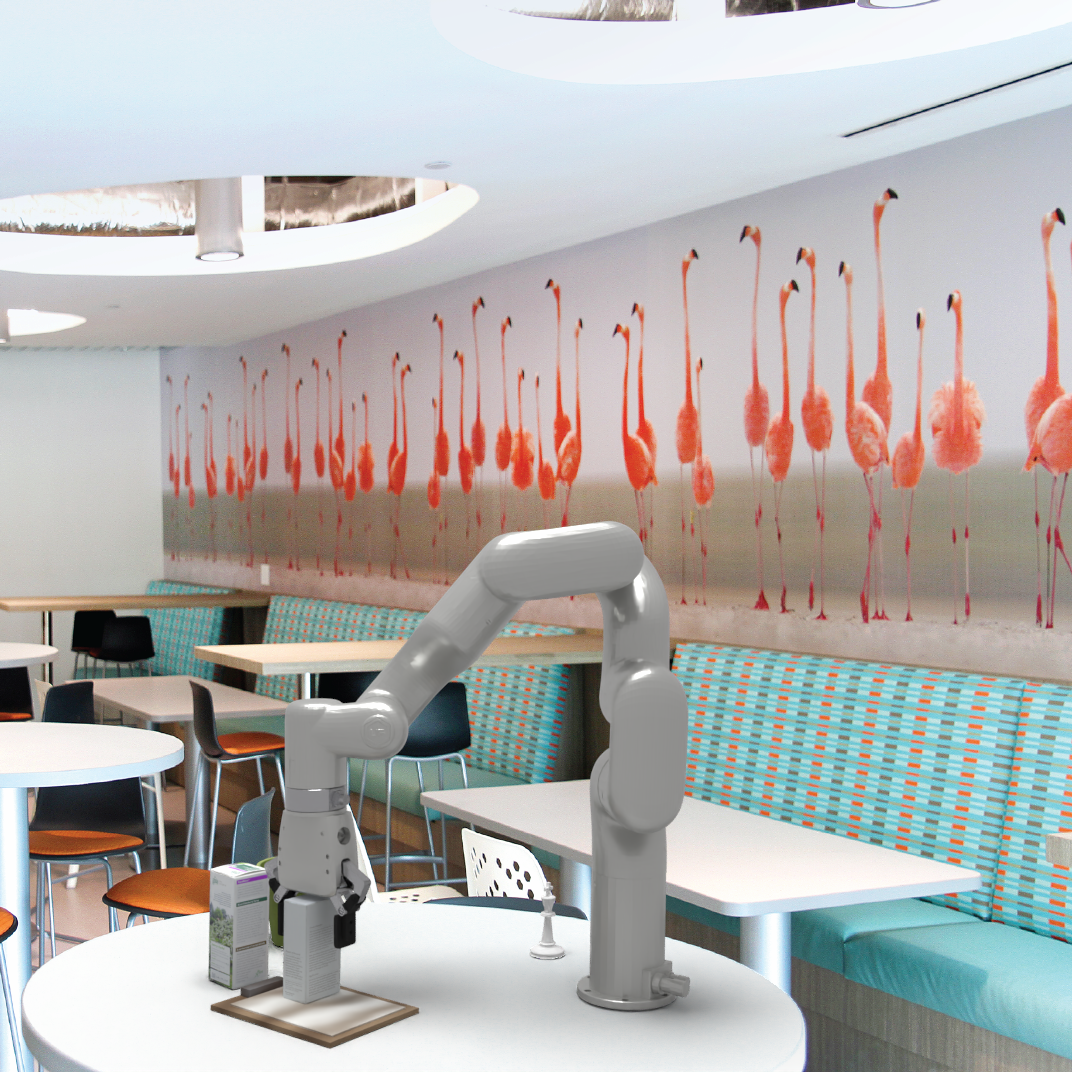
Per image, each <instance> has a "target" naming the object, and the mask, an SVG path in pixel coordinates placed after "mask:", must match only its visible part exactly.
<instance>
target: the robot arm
mask: <svg viewBox="0 0 1072 1072" xmlns="http://www.w3.org/2000/svg"><path fill="white" fill-rule="evenodd" d="M463 570H464V571H463V572H461V574H460V575H459V576H458V578H457V579H456V580H454V582H453V583H452V584H451V586H450V587H449V588H448V589H447V591H446V592H445V593H444V594H443V595H442V597H441V598H440V599H439V600H438V601H437V602H436V604H434V606H433V607H432V609H430V611H429V612H428V613H427V614H426V615H425V617H424V618H423V619H422V620H421V621H420V623H418V625H417V626H416V628H415V629H414V631H413V632H412V633H411V635H410V636H409V638H408V639H407V641H405V643H404V644H403V645H402V647H401V648H400V649H399V650H398V651H397V652H396V653H395V655H393V657H392V658H391V660H389V662H388V663H387V664H386V665H385V666H384V668H383V669H382V670H381V671H380V673H379V674H378V675H377V676H376V677H375V678H374V679H373V681H372V682H371V683H370V684H369V686H368V687H367V688H366V689H365V690H364V691H363V693H362V694H361V695H360V696H359V697H358V698H357V700H356V701H355V702H347V703H346V702H345V703H343V702H341V701H340V700H338V699H335V698H334V699H333V698H323V697H321V698H319V697H317V698H316V697H314V698H303V699H297V700H294V701H292V702H290V703H289V704H288V705H287V706H286V708H285V712H284V808H285V809H283V810H282V816H281V822H280V827H279V833H278V834H279V835H278V846H277V847H278V849H277V855H276V856H274V857H275V858H273V859H271V860H270V861H268V862H266V863H265V865H264V867H265V870H266V873H267V876H268V879H269V886H270V888H271V889H272V891H273V893H274V901H275V902H276V903H278V902H279V903H278V935H280V936H284V900H285V899H289V898H293V897H296V895H297V894H298V892H300V893H305V894H310V895H316V896H321V897H330V899H331V901H332V903H333V905H334V907H335V909H336V910H337V912H338V914H337V915H334V947H335V948H337V949H341V950H342V949H343V948H347V947H350V946H352V945H355V944H356V943H357V919H356V918H357V917H356V916H357V912H359V911H360V910H361V907H362V905H363V904H364V902H366V900H367V895H368V892H369V890H370V888H371V885H372V881H371V878H369V876H367V875H366V874H365V873H364V872H363V871H362V870H360V869H359V852H358V842H357V834H356V829H355V823H354V819H353V818H354V817H353V815H352V811H350V810H347V809H348V808H347V807H348V805H349V804H350V802H351V797H350V795H348V794H347V788H348V787H347V785H348V784H347V783H348V782H347V778H348V777H347V776H348V775H347V773H348V772H347V771H348V769H347V758H350V759H360V760H367V761H383V760H387V759H389V758H392V757H394V756H395V755H398V753H399V752H401V750H403V748H404V746H405V745H406V742H407V739H408V737H409V728H410V726H411V725H412V724H413V722H414V721H415V720H416V719H417V718H418V717H419V715H420V714H422V712H423V711H424V709H425V708H426V707H427V705H429V704H430V702H431V701H433V699H434V698H435V697H436V696H437V694H438V693H439V692H440V691H441V690H442V689H443V688H444V687H445V686H446V685H447V684H448V683H450V682H451V681H452V680H453V679H455V678H456V677H458V676H459V675H461V674H463V673H464V672H466V671H467V670H468V669H469V668H470V667H471V666H473V664H475V663H476V662H477V661H478V660H479V659H480V658H481V656H482V655H483V654H484V653H485V651H487V649H488V648H489V647H490V645H492V643H493V642H494V641H495V640H496V638H497V637H498V636H499V634H500V633H501V632H502V631H503V630H504V628H505V627H506V626H507V625H508V623H509V622H510V621H511V620H512V618H514V616H516V614H517V613H518V612H519V610H520V609H521V608H522V607H523V606H524V605H525V604H526V602H529V601H539V600H542V601H543V600H550V599H559V598H566V597H567V598H569V597H574V596H582V595H588V594H595V596H596V597H597V599H598V601H599V604H600V608H601V612H602V621H603V622H602V623H603V626H602V628H603V629H602V630H603V631H602V633H603V636H602V638H603V639H602V640H603V644H602V645H603V646H602V661H601V674H600V675H601V678H600V688H599V698H598V700H599V708H600V709H601V710H600V711H601V713H602V715H603V717H604V718H605V720H606V721H607V722H608V723H609V726H610V727H609V744H608V745H609V746H608V747H609V748H607V749H606V750H604V751H603V753H601V754H600V755H599V757H598V758H597V759H596V761H595V762H594V765H593V767H592V771H591V773H590V778H589V779H590V780H589V804H590V806H589V807H590V821H591V822H590V823H591V870H590V871H591V875H590V876H591V879H590V921H589V922H590V925H589V926H590V928H589V929H590V930H589V931H590V934H589V974H588V975H586V976H584V977H581V978H580V979H579V980H578V981H577V983H576V994H577V996H578V997H579V998H580V999H581V1000H583V1001H585V1002H586V1003H588V1004H591V1005H594V1006H598V1007H601V1008H606V1009H613V1010H619V1011H623V1010H624V1011H644V1010H645V1011H647V1010H654V1009H658V1008H662V1007H665V1006H668V1005H670V1004H672V1003H673V1002H674V1001H675V1000H676V998H677V997H681V998H687V997H688V996H689V993H690V990H691V989H690V987H691V986H690V984H691V978H690V977H689V976H687V975H682V974H675V972H674V971H673V961H672V960H669V959H665V958H666V915H667V914H666V912H667V911H666V905H667V903H666V902H667V898H666V895H667V864H668V862H667V861H668V860H667V859H668V856H667V855H668V853H667V852H668V850H667V847H668V846H667V845H668V844H667V827H668V826H669V825H670V824H671V823H672V822H674V820H675V819H676V817H677V816H678V814H679V813H680V811H681V808H682V806H683V803H684V799H685V798H684V797H685V791H686V779H687V778H686V777H687V761H688V760H687V759H688V740H689V739H688V738H689V737H688V735H689V733H688V732H689V703H688V699H687V694H686V691H685V689H684V686H683V684H682V683H681V681H680V679H679V678H678V677H677V676H676V675H675V674H674V673H673V671H671V670H670V654H671V653H670V652H671V651H670V649H671V648H670V647H671V641H670V636H671V635H670V633H671V632H670V631H671V630H670V629H671V628H670V627H671V626H670V625H671V624H670V617H671V616H670V605H669V600H668V595H667V592H666V589H665V584H664V583H663V580H662V579H661V577H660V575H659V573H658V571H657V569H656V567H655V566H654V564H653V563H652V562H651V560H650V559H649V557H648V556H647V555H645V549H644V545H643V543H642V541H641V538H640V537H639V535H638V534H637V532H635V531H634V530H633V529H632V528H631V527H630V526H628V525H626V524H623V523H621V522H619V521H614V520H606V521H605V520H603V521H598V522H597V521H596V522H592V523H584V524H578V525H569V526H563V527H562V526H560V527H555V528H545V529H536V530H526V531H524V530H522V531H511V532H506V533H503V534H500V535H497V536H496V537H494V538H492V539H490V540H489V542H488V543H486V544H485V546H484V547H483V548H482V549H481V550H480V551H479V553H478V554H477V555H476V556H475V557H474V559H472V560H471V562H470V563H469V564H468V565H467V567H466V568H465V569H463ZM342 896H343V898H344V899H345V901H344V900H343V898H342Z"/></svg>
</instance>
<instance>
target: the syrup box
mask: <svg viewBox="0 0 1072 1072" xmlns="http://www.w3.org/2000/svg"><path fill="white" fill-rule="evenodd" d="M209 876H210V877H209V919H208V920H209V923H208V924H209V925H208V928H209V929H208V935H209V936H208V981H210V982H211V981H212V982H214V983H216V984H219V985H221V986H224V987H225V988H229V989H231V990H236V989H237V990H238V989H241V987H244V986H247V985H250V984H253V983H256V982H260V981H263V980H266V979H269V945H270V943H269V941H270V940H269V938H270V936H269V935H270V933H269V932H270V923H269V888H270V886H269V879H268V876H267V873H266V870H265V868H262V867H259V866H256V865H255V864H252V863H249V862H235V863H230V864H229V863H228V864H224V865H220V866H216V867H214V868H212V867H211V868H210V873H209Z"/></svg>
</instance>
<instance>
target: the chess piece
mask: <svg viewBox="0 0 1072 1072" xmlns="http://www.w3.org/2000/svg"><path fill="white" fill-rule="evenodd" d="M552 890H554V886H553V885H552V882H550V881H547V882H546V886H545V887H543V891H544V892H545V894H543V895H541V897H540V898H541V902H542V905H543V908H544V910H543V911H541V912H540V916H542V917H543V918H544V920H543V928H542V935H541V936H542V937H541V941H539V943H538V944H535V945H533V946H531V947H530V948H529V950H530V951H529V956H530V955H532V956H534V957H538V958H540V959H539V960H544V959H552V958H556V957H561V956H563V955H564V954H566V953H565V949H564V947H563V946H560V945H558V944H557V943H556V941H554V933H553V925H552V920H553V919H552V918H553V917H556V915H557V914H556V912H555V911H553V907H554V904H555V901H556V896H555V895H554V894H551V892H552ZM532 956H531V957H532ZM534 957H533V958H534Z"/></svg>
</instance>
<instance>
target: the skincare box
mask: <svg viewBox="0 0 1072 1072" xmlns="http://www.w3.org/2000/svg"><path fill="white" fill-rule="evenodd" d="M337 914H338V912H337V910H336V909H335V907H334V905H333V903H332V901H331V899H330V897H321V896H316V895H310V894H305V895H301V896H297V897H293V898H289V899H285V900H284V946H283V947H282V948H283V952H282V953H283V956H282V958H283V960H282V961H283V962H282V963H283V965H282V966H283V967H282V977H283V997H284V998H286V999H290V1000H293V1001H297V1002H300V1003H303V1004H307V1003H310V1002H313V1001H315V1000H318V999H321V998H324V997H326V996H329V995H332V994H335V993H338V992H340V986H341V962H342V961H341V958H342V957H341V954H342V953H341V951H342V948H341V949H337V948H335V947H334V915H337Z"/></svg>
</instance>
